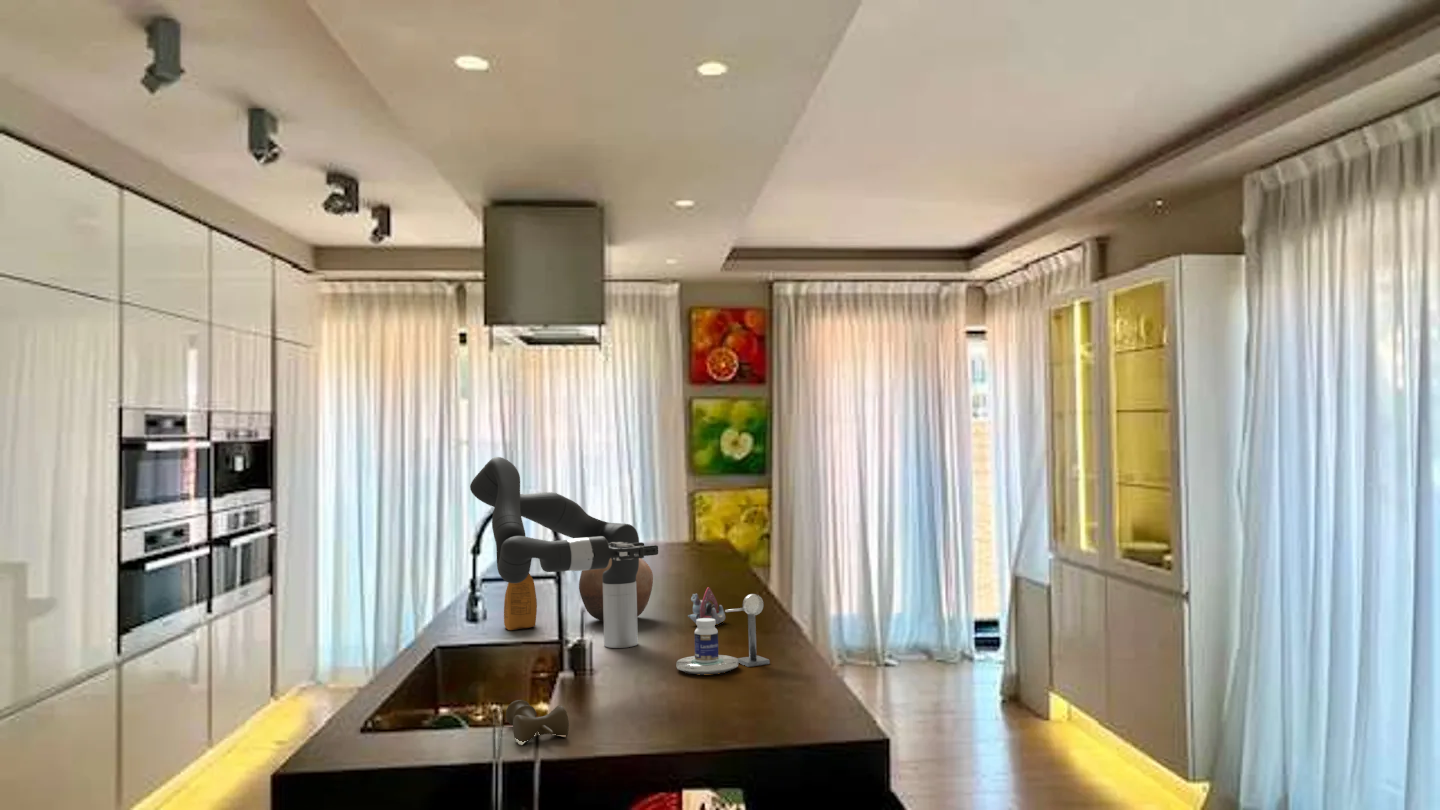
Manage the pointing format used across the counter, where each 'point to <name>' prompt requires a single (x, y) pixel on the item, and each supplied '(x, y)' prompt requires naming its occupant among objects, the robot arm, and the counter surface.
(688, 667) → the dish
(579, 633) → the counter surface
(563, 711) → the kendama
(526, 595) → the coffee package
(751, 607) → the dial stand
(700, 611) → the grey and red figurine
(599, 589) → the pottery
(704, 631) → the pill bottle
